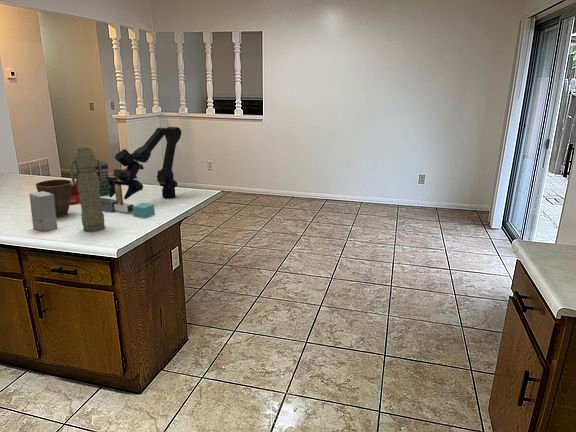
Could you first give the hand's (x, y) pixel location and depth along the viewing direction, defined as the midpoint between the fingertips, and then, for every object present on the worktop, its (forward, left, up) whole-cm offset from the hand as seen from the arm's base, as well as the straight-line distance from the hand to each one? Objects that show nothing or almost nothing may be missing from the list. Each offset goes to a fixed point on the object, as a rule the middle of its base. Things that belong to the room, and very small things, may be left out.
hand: (117, 198), depth 206 cm
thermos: (+11, +22, -8) cm, 25 cm away
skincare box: (+30, +14, -8) cm, 34 cm away
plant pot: (+27, -5, -8) cm, 28 cm away
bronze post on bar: (+2, -4, -7) cm, 8 cm away
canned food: (+22, -27, -8) cm, 36 cm away
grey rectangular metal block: (+6, -8, -7) cm, 12 cm away
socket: (-11, +9, -7) cm, 16 cm away
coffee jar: (+8, -41, -8) cm, 43 cm away
